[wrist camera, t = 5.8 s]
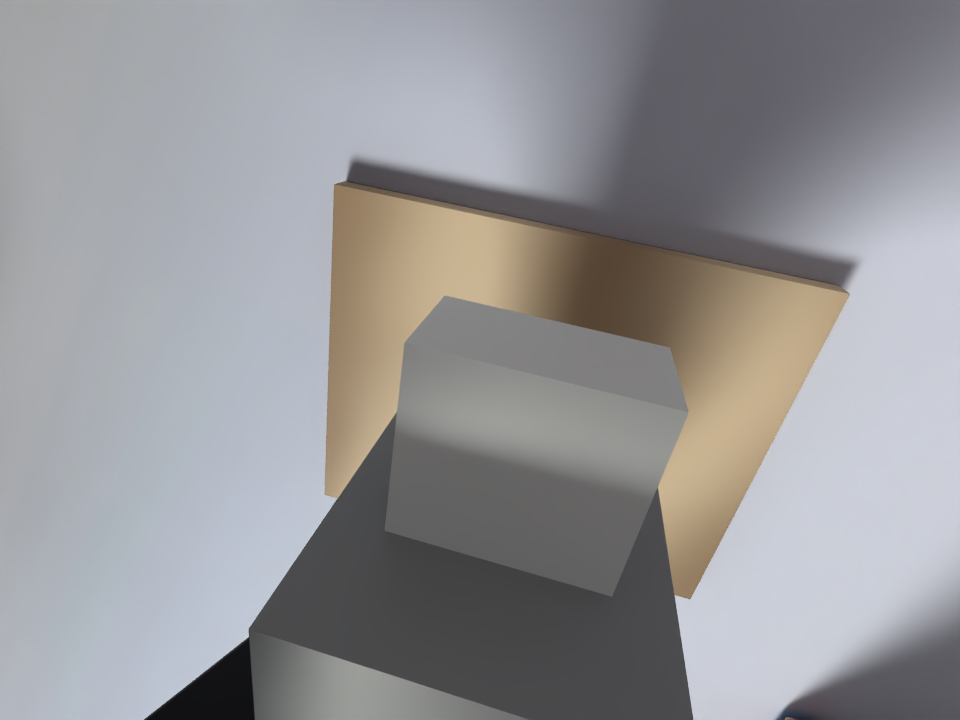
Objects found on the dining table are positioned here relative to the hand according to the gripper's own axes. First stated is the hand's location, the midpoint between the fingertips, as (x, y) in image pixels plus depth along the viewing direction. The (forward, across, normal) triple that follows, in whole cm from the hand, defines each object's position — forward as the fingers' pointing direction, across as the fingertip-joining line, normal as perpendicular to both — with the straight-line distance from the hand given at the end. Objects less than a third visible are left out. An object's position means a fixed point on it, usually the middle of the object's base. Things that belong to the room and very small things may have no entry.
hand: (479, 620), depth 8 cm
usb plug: (+1, 0, 0) cm, 1 cm away
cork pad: (+7, 0, 0) cm, 7 cm away
